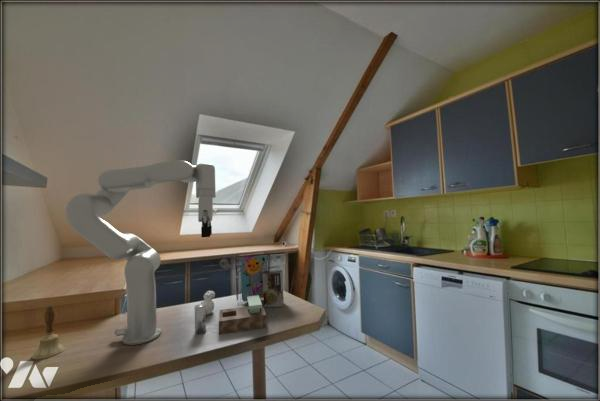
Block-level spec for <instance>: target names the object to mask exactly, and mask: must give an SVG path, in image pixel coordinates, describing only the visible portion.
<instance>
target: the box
mask: <svg viewBox="0 0 600 401" xmlns="http://www.w3.org/2000/svg"><path fill="white" fill-rule="evenodd" d="M242 256H243V257H242ZM234 257H235V287H236V288H235V289H236V290H235V296H236V302H239V303H237V305H240V304H242V302H243V303H244V302H248V301H247V297H248V296H256V295H259V298H260V300H261V299H264V298H263V276H262V274H263V273H264V272H265V271H270V270H271V263H272V260H271V253H269V252H267V251H266V252H260V251H259V252H252V253H250V252H249V253H240V254H239V253H238V255H237V254H236V255H235V256H234ZM238 265H240V275H239V272H238ZM219 266H220V267H221V268H223V269H224V270H225V269H226V270H227V269H229V268H232V267H233V265H231V264H230V263H229V260H228V259H227V258H222V259H221V260H219ZM238 278H240V279H239V281H238ZM239 284H240V287H239ZM239 288H240V290H239ZM239 291H240V293H239ZM239 294H240V295H239ZM239 300H240V301H239Z"/></svg>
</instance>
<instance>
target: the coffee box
mask: <svg viewBox="0 0 600 401" xmlns="http://www.w3.org/2000/svg"><path fill="white" fill-rule="evenodd" d="M262 276H263V298H262V299H263V308H275V307H277V308H279V307H280V308H282V307H283V305H284V302H285V299H284V298H285V297H284V281H283V280H284V279H283V278H284V275H283V269H277V270H274V269H270V271H268V270H267V271H265V272H264V273H263V274H262Z"/></svg>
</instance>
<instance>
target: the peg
mask: <svg viewBox="0 0 600 401" xmlns="http://www.w3.org/2000/svg"><path fill="white" fill-rule="evenodd" d="M206 332H207V316H206V305H205V304H201V303H200V304H196V305H195V306H194V334H195V335H202V334H205V333H206Z"/></svg>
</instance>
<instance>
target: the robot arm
mask: <svg viewBox="0 0 600 401" xmlns="http://www.w3.org/2000/svg"><path fill="white" fill-rule="evenodd" d="M215 168H216V167H215V166H214V164H212V163H203V162H202V163H198V164H196V165H193V164H191V163H190V162H188V161H186V160H173V161H172V160H171V161H163V162H162V161H161V162H157V163H151V164H148V165H143V166H135V167H127V168H126V167H125V168H117V169H108V170H105V171H103V172H101V173H100V174H99V175H98V178H97V183H98V185H99V187H100V189H99V190H98V192H97V193H79V194H77V195H74V196H73V197H71V198H70V200H69V201H68V203H67V205H66V208H65V215H66V216H65V217H66V220H67V222H68V224H69V225H70V227H71V228H72V229H73V230H74V231H76V233H77V234H79V235H80V236H81V237H83V238H84V239H85V240H87V242H89V243H90V244H92V245H93V246H94V247H95V248H96V249H98V250H99V251H100V252H102V253H103V254H104V255H105V256H107V257H108V258H109V259H111V260H115V261H117V260H123V259H125V260H126V263H125V265H124V279H125V283H126V284H125V285H126V301H127V302H126V312H127V314H126V318H127V319H126V322H127V326H125V327H122V328H115V330H114V334H115V336H116V337H120V336H123V337H122V343H123V344H124V345H127V346H136V345H141V344H145V343H148V342H150V341H153V340H155V339H157V338H158V337H159V336H161V334H162V328H160V327H158V326H157V321H158V320H157V284H156V277H155V271H156V270H157V269H159V267H160V266H161V262H162V260H161V256H160V254H159V252H157V251H156V250H155V249H154V248H153V247H151V246H150V245H149V244H148V243H147V242H145V241H144V240H143V239H142V238H140V237H139V236H137V235H135V234H134V233H131V232H121V231H119V230H117V229H116V228H115V227H114V226H113V225H111V223H109V222H108V221H106V220H104V219H102V218H101V217H103V216H106V215H107V214H109V213H111V212H112V211H113V210H114V209H115V207H116V206H117V205H118V204H119V203H120V202H121V201H122V200H123V199H124V198H125V197H126V196H127V194H129V192H130V191H135V190H142V189H143V190H144V189H151V188H153V187H154V186H156V185H158V184H162V183H169V182H177V181H180V182H182V183H189V184H190V183H194V182H195V198H196V199H198V201H197V202H198V210H197V211H198V216H197V219H198V220H197V221H198V222H199V223H201V228H200V229H201V230H200V232H201V233H200V234H201V235H200V237H201V238H211V236H212V234H213V232H212V230H213V229H212V221H213V216H214V215H213V213H214V210H213V208H214V205H213V204H214V203H213V202H214V200H213V199H214V198H216V196H217V195H216V169H215Z"/></svg>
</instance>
